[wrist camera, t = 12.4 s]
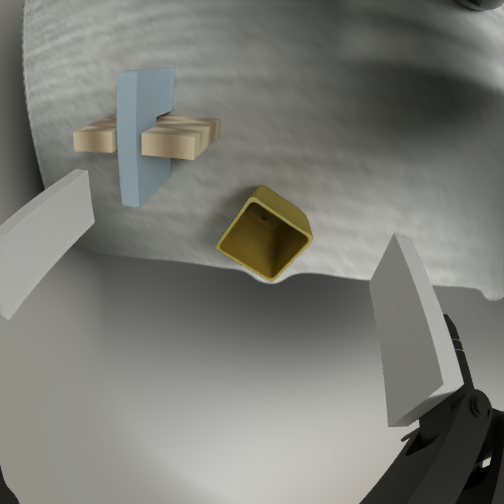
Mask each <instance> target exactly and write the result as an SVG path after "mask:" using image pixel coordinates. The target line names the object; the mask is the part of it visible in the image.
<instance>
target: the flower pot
mask: <svg viewBox="0 0 504 504" xmlns="http://www.w3.org/2000/svg"><path fill="white" fill-rule="evenodd" d="M263 216H265V217H266V219H263V218H262V217H263ZM312 241H313V236H312V232H311V228H310V225H309V221H308V219H307V217H306V215H305V214H304V213H303V212H302V211H301V210H300V209H298V208H297V207H296V206H294V205H293V204H291V203H290V202H288V201H287V200H285V199H284V198H282V197H281V196H279V195H278V194H277V193H275V192H274V191H272V190H271V189H269V188H268V187H266V186H264V185H260V186H258V187H257V188H256V189H255V190H254V191H253V193H252V194H251V195H250V197H249V198H248V200H247V201H246V203H245V204H244V205H243V207H242V208H241V210H240V211H239V212H238V214H237V215H236V216H235V218H234V219H233V220H232V222H231V223H230V224H229V226H228V227H227V229H226V230H225V232H224V233H223V235H222V236H221V238H220V239H219V241H218V242H217V244H216V246H215V248H216V249H217V250H218V251H219V252H221V253H223V254H224V255H226V256H227V257H229V258H231V259H232V260H234V261H236V262H237V263H239V264H241V265H242V266H244V267H246V268H248V269H249V270H251V271H252V272H254V273H256V274H257V275H259V276H261V277H262V278H264V279H266V280H268V281H270V282H273V281H274V280H276V279H277V278H278V277H279V276H280V274H281V273H282V272H283V271H284V270H285V269H286V268H287V267H288V266H289V265H290V264H291V263H292V262H293V261H294V260H295V259H296V258H297V257H298V256H299V255H300V254H301V253H302V252H303V251H304V250H305V249H306V248H307V247H308V246H309V245H310V243H311V242H312Z"/></svg>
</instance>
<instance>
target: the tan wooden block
mask: <svg viewBox="0 0 504 504" xmlns="http://www.w3.org/2000/svg"><path fill="white" fill-rule="evenodd" d="M219 125H220V120H219V119H209V118H198V117H185V116H169V115H160V116H158V117H156V126H154V127H152V128H150V129H148V130H146V131H144V132H142V133H141V148H142V155H148V156H159V157H169V158H178V159H187V160H195V159H196V158H197V157H198V156H199V155H200V154H201V153H202V152H203V151H204V150H205V149H206V148H207V147H208V146H210V145H211V144H212V143H213V142H214V141H215V140H216V139H217V138H218V135H219ZM73 141H74V151H81V152H105V153H113V152H115V151H117V150H118V146H117V114H116V115H113V116H110V117H108V118H105V119H103V120H100V121H98V122H95V123H93V124H90V125H88V126H86V127H83V128H81V129H79V130H77V131H74V132H73Z"/></svg>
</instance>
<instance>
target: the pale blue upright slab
mask: <svg viewBox="0 0 504 504" xmlns="http://www.w3.org/2000/svg"><path fill="white" fill-rule="evenodd" d="M174 79H175V68H155V69H143V70H134V71H125V72H118V73H117V146H118V164H119V178H120V189H121V199H122V205H124V206H131V207H137V208H140V207H141V206H142V205H143V204H144V203H145V202H146V201H147V200H148V199H149V198H150V197H151V196H152V195H153V194H154V193H155V192H156V191H157V190H158V189H159V188H160V187H161V186H162V185H163V184H164V183H165V182H166V181H167V180H168V179H169V178H170V177H171V158H169V157H159V156H148V155H142V148H141V133H142V132H144V131H146V130H148V129H150V128H152V127H154V126H156V117H158V116H160V115H162V114H165V113H167V112H170V111H172V110H173V93H174Z"/></svg>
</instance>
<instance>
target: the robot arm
mask: <svg viewBox="0 0 504 504" xmlns="http://www.w3.org/2000/svg"><path fill="white" fill-rule="evenodd" d="M453 1H455V2H456V3H458V4H460V5H462V6H464V7H467V8H469V9H473V10H478V11H484V10H492V9H495V8H498V7H500V6H501V5H502V4H503V3H504V0H453ZM94 223H95V221H94V215H93V208H92V201H91V194H90V186H89V177H88V170H80V169H75V170H73V171H72V172H70V173H69V174H67V175H66V176H64V177H63V178H62V179H60V180H59V181H57V182H56V183H54V184H53V185H51V186H50V187H49V188H47V189H46V190H45V191H43V192H42V193H41V194H39V195H38V196H36V197H35V198H34V199H33V200H31V201H30V202H29V203H27V204H26V205H25V206H24V207H22V208H21V209H20V210H18V211H17V212H16V213H15V214H14V215H12V216H11V217H10V218H9V219H8V220H6V221H5V222H4V223H3V224H2V225H1V226H0V315H2V316H3V317H5V318H6V319H8V320H10V318H11V317H12V316H13V314H14V313H15V312H16V310H17V309H18V308H19V306H20V305H21V304H22V303H23V301H24V300H25V299H26V298H27V296H28V295H29V294H30V293H31V291H32V290H33V289H34V288H35V286H36V285H37V284H38V283H39V282H40V281H41V279H42V278H43V277H44V276H45V275H46V273H47V272H48V271H49V270H50V269H51V267H53V266H54V264H55V263H56V262H57V261H58V260H59V259H60V258H61V257H62V256H63V254H64V253H65V252H66V251H67V250H68V249H69V248H70V247H71V246H72V245H73V244H74V243H75V242H76V241H77V240H78V239H79V238H80V237H81V236H82V235H83V234H84V233H85V232H86V231H87V230H88V229H89V228H90V227H91V226H92V225H93V224H94ZM369 287H370V291H371V297H372V302H373V307H374V313H375V319H376V324H377V330H378V337H379V343H380V350H381V358H382V364H383V374H384V383H385V393H386V403H387V417H388V427H398V426H399V427H401V426H409V425H410V424H412V423H413V422H415V421H416V420H418V419H419V424H420V427H419V428H417V429H416V430H414V431H412V432H411V433H409V434H407V435H406V436H405V437H403V438H402V439H401V441H402V442H403V441H405V440H407V439H409V438H410V439H409V440H408V442H407V443H406V445H405V446H404V448H403V449H402V451H401V452H400V453H399V455H398V456H397V458H396V459H395V460H394V462H393V463H392V464H391V466H390V467H389V468H388V470H387V471H386V472H385V474H384V475H383V476H382V477H381V479H380V480H379V481H378V482H377V484H376V485H375V486H374V487H373V489H372V490H371V491H370V492H369V493H368V494H367V496H366V497H365V498H364V499H363V500H362V501H361V502H360V503H359V504H504V411H503V412H502V411H499V410H496V409H494V408H492V407H491V403H490V401H489V399H488V397H487V396H486V395H485V394H484V393H483V392H482V391H480V390H477V389H474V386H473V382H472V378H471V374H470V371H469V367H468V364H467V361H466V357H465V354H464V352H463V351H462V350H463V348H462V344H461V342H460V341H459V336H458V333H457V330H456V327H455V325H454V324H453V322H452V321H451V319H450V318H449V317H448V315H446V314H442V311H441V308H440V305H439V303H438V300H437V298H436V295H435V293H434V290H433V288H432V285H431V283H430V280H429V278H428V276H427V273H426V271H425V269H424V266H423V264H422V262H421V260H420V257H419V255H418V253H417V251H416V249H415V247H414V245H413V243H412V241H411V238H410V237H408V236H404V235H401V234H397V233H394V234H393V236H392V238H391V240H390V242H389V245H388V247H387V249H386V251H385V253H384V255H383V257H382V259H381V261H380V263H379V265H378V267H377V269H376V271H375V273H374V275H373V277H372V278H371V280H370V282H369ZM490 457H491V461H490V465H489V466H486V467H484V468H483V467H482V464H483V461H484V460H486V459H488V458H490ZM0 504H19V501H18V499H17V498H16V497H15V495H14V493H12V491H11V490H10V489H9V488H8V487H7V485H6V484H5V481H4V478H3V475H2V471H1V467H0Z"/></svg>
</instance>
